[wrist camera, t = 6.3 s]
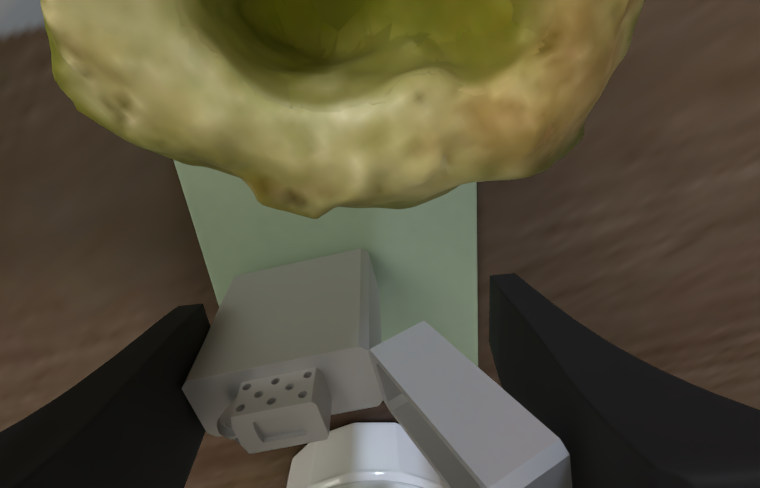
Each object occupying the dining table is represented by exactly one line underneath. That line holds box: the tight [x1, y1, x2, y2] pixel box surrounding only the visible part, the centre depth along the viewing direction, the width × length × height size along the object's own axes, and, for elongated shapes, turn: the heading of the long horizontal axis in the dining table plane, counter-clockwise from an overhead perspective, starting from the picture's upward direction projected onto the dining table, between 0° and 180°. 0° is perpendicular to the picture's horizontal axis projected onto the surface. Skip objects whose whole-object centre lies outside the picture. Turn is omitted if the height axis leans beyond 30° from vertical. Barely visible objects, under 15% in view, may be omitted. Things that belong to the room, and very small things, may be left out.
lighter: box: [182, 248, 572, 488], centre depth 11 cm, size 7×2×8 cm, turn 103°
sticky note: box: [174, 160, 478, 367], centre depth 15 cm, size 8×10×1 cm
